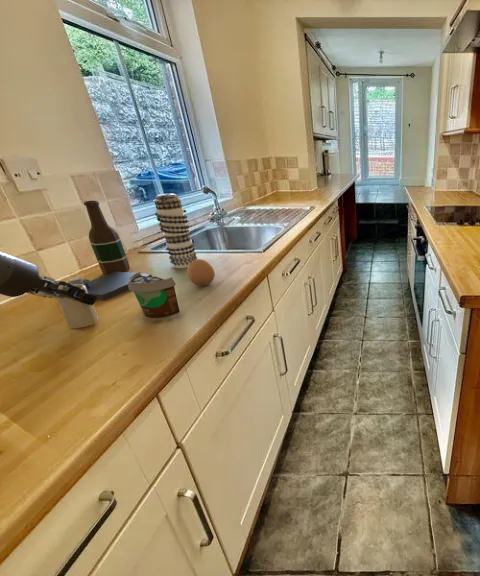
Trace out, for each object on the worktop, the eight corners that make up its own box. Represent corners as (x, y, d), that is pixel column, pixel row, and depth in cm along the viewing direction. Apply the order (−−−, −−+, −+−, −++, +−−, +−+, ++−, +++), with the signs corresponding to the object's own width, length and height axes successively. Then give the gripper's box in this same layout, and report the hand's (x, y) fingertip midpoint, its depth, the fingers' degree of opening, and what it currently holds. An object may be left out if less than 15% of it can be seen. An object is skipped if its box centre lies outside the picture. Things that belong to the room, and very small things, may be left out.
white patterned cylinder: (175, 261, 121) (155, 193, 110) (201, 259, 123) (184, 192, 112) (166, 269, 112) (144, 197, 102) (195, 266, 115) (176, 195, 104)
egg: (222, 283, 101) (216, 257, 98) (201, 291, 95) (194, 265, 91) (206, 279, 104) (200, 254, 100) (185, 287, 98) (177, 261, 94)
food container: (127, 316, 81) (113, 280, 77) (150, 305, 87) (138, 271, 83) (162, 324, 78) (150, 286, 74) (184, 312, 83) (173, 277, 79)
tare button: (68, 285, 92) (65, 280, 91) (78, 282, 94) (76, 276, 94) (76, 286, 91) (73, 280, 91) (86, 282, 94) (83, 277, 93)
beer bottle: (129, 265, 116) (105, 198, 106) (131, 271, 111) (106, 201, 101) (102, 270, 112) (74, 201, 102) (103, 277, 106) (73, 204, 96)
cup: (63, 326, 75) (46, 292, 71) (86, 316, 80) (72, 283, 76) (81, 329, 74) (65, 294, 70) (104, 318, 79) (90, 285, 75)
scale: (63, 297, 92) (58, 286, 91) (117, 276, 107) (113, 266, 105) (103, 301, 89) (99, 290, 88) (153, 279, 104) (149, 269, 103)
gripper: (34, 256, 61) (115, 288, 76) (-22, 251, 63) (67, 283, 79) (12, 292, 58) (101, 318, 74) (-45, 286, 61) (52, 311, 76)
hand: (83, 299), depth 76 cm, fingers closed on cup, 5 cm apart
